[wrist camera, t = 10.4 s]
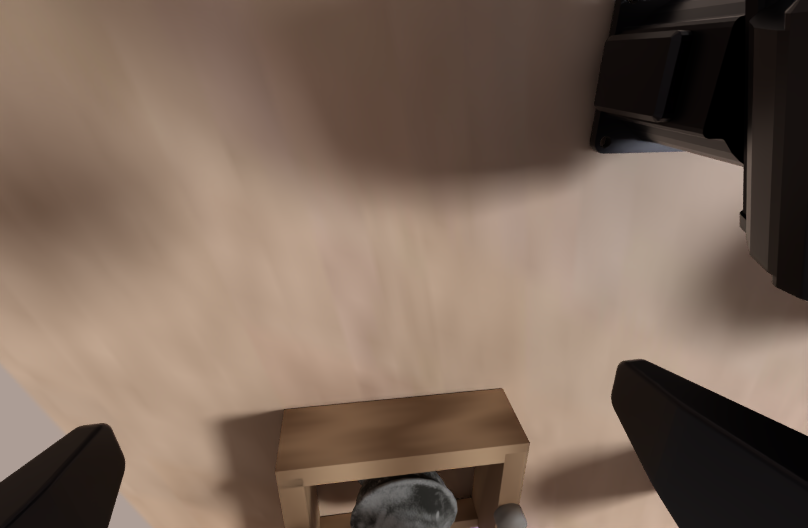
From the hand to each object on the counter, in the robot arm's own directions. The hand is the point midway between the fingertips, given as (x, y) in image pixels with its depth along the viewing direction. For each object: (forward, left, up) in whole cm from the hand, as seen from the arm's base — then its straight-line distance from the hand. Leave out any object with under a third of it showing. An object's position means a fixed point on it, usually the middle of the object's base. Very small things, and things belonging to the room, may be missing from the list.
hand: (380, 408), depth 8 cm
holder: (-2, +17, -13) cm, 21 cm away
